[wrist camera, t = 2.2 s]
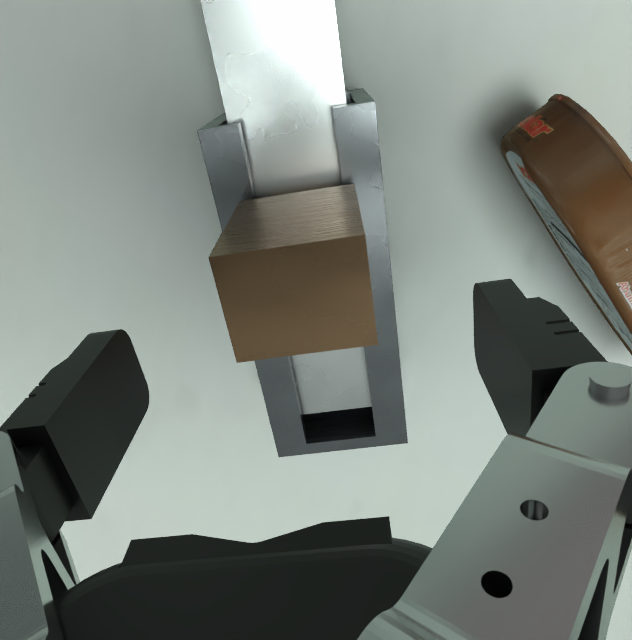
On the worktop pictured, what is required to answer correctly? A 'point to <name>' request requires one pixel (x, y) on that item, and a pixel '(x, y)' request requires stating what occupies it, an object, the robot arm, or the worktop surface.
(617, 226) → the tin
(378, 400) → the sleeve
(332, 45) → the slider with block handle
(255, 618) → the robot arm
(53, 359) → the worktop surface
